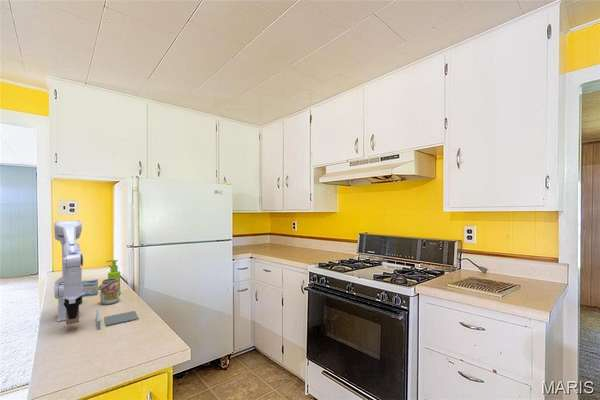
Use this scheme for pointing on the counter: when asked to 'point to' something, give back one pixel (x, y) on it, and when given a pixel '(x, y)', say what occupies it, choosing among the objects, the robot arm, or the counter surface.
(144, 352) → the counter surface
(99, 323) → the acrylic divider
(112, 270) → the soap dispenser
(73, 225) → the robot arm
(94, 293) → the medicine box
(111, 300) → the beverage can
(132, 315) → the resting mat
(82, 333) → the counter surface
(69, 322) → the walnut block
